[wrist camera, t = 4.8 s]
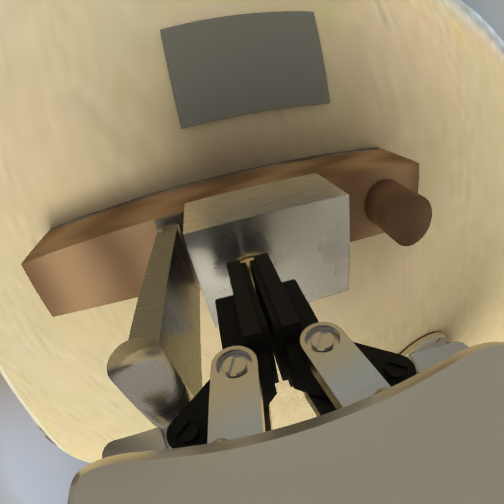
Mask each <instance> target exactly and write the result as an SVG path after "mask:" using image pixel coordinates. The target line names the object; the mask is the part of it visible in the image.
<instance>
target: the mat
mask: <svg viewBox="0 0 504 504" xmlns="http://www.w3.org/2000/svg"><path fill="white" fill-rule="evenodd" d="M160 31H161V36H162V41H163V46H164V51H165V56H166V61H167V66H168V71H169V75H170V80H171V85H172V89H173V94H174V98H175V103H176V107H177V111H178V116H179V120H180V124H181V128H186V127H190V126H194V125H198V124H202V123H206V122H210V121H215V120H219V119H224V118H229V117H234V116H239V115H244V114H249V113H255V112H261V111H267V110H274V109H280V108H288V107H295V106H304V105H313V104H324V103H330V100H329V93H328V86H327V80H326V73H325V67H324V62H323V56H322V51H321V45H320V40H319V35H318V31H317V26H316V21H315V17H314V13H313V12H304V11H291V12H265V13H252V14H242V15H233V16H226V17H219V18H213V19H207V20H201V21H196V22H191V23H187V24H182V25H178V26H174V27H170V28H166V29H162V30H160Z"/></svg>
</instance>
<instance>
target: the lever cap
mask: <svg viewBox="0 0 504 504" xmlns="http://www.w3.org/2000/svg"><path fill="white" fill-rule="evenodd" d="M183 236H184V239H185V242H186V245H187V249H188V252H189V255H190V257H191V260H192V263H193V266H194V269H195V272H196V275H197V278H198V281H199V284H200V286H201V289H202V292H203V295H204V298H205V300H206V303H207V306H208V308H209V311H210V314H211V317H212V319H213V322H214V324H215V327H219V324H218V317H217V311H216V304H215V299H219V298H223V297H227V296H231V295H233V291H232V287H231V283H230V278H229V274H228V269H227V265H226V263H228V262H232V261H236V260H240V263H243V262H246V265H247V267H248V270H249V273H250V276H251V279H252V282H253V285H254V281H253V277H252V272H251V267H250V262H249V261H250V260H254V256H255V255H259V254H263V253H268V255H269V257H270V259H271V261H272V263H273V265H274V267H275V269H276V271H277V273H278V276H279V278H280V280H281V282H285V281H288V280H292V279H295V280H296V282H297V283H298V285H299V287H300V289H301V290H302V292H303V294H304V296H305V298H306V300H307V301H308V302H311V301H314V300H318V299H321V298H324V297H327V296H330V295H333V294H337V293H340V292H343V291H346V290H349V261H350V215H349V194H347V193H346V192H344V191H343V190H341V189H340V188H338V187H337V186H335V185H334V184H332V183H331V182H329V181H327V180H326V179H324V178H323V177H321V176H320V175H318V174H316V173H315V174H310V175H304V176H299V177H294V178H289V179H285V180H280V181H275V182H270V183H266V184H261V185H257V186H253V187H248V188H244V189H240V190H235V191H231V192H227V193H223V194H219V195H215V196H211V197H207V198H203V199H199V200H196V201H192V202H188V203H185V206H184V223H183ZM254 288H255V286H254Z"/></svg>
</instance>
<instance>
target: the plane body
mask: <svg viewBox="0 0 504 504" xmlns="http://www.w3.org/2000/svg"><path fill="white" fill-rule="evenodd" d="M315 173H316V174H318V175H320V176H321V177H323V178H324V179H326V180H327V181H329V182H331V183H332V184H334V185H335V186H337V187H338V188H340V189H341V190H343V191H344V192H346V193H347V194H349V215H350V242H352V241H355V240H359V239H362V238H366V237H369V236H373V235H377V234H380V233H384V232H385V233H386V234H387V235H389V236H390V237H391V238H392V239H393V240H395V241H396V242H397V243H398V244H400V245H402V246H410V245H413V244H415V243H416V242H418V241H419V240H420V239H421V238H422V237H423V236H424V234H425V233H426V231H427V230H428V228H429V225H430V222H431V217H432V209H431V205H430V203H429V201H428V200H427V199H426V198H425V197H423V196H421V195H419V194H418V181H419V163H417V162H415V161H412V160H410V159H407V158H405V157H402V156H399V155H397V154H394V153H391V152H389V151H386V150H383V149H380V148H369V149H361V150H354V151H347V152H340V153H333V154H327V155H320V156H314V157H309V158H303V159H297V160H292V161H287V162H281V163H276V164H271V165H266V166H262V167H257V168H252V169H248V170H243V171H239V172H234V173H230V174H226V175H222V176H218V177H214V178H210V179H206V180H202V181H198V182H194V183H190V184H187V185H183V186H179V187H176V188H172V189H169V190H165V191H162V192H158V193H155V194H152V195H148V196H145V197H142V198H138V199H135V200H132V201H129V202H126V203H123V204H120V205H117V206H114V207H111V208H108V209H105V210H102V211H99V212H96V213H93V214H91V215H88V216H85V217H82V218H80V219H77V220H74V221H72V222H69V223H66V224H64V225H61V226H59V227H56V228H53V229H51V230H49V231H48V233H47V234H46V235H45V236H44V237H43V238H42V239H41V241H40V242H39V243H38V244H37V245H36V246H35V248H34V249H33V250H32V251H31V252H30V254H29V255H28V256H27V257H26V259H25V260H24V261H23V262H22V264H21V265H22V266H23V268H24V270H25V272H26V274H27V276H28V277H29V279H30V281H31V283H32V284H33V286H34V288H35V289H36V291H37V293H38V294H39V296H40V298H41V299H42V301H43V302H44V304H45V306H46V307H47V309H48V310H49V312H50V313H51V315H52V316H53V317H54V316H59V315H63V314H67V313H72V312H76V311H80V310H85V309H89V308H93V307H98V306H102V305H106V304H110V303H115V302H119V301H123V300H127V299H131V298H135V297H139V294H140V290H141V286H142V283H143V279H144V275H145V272H146V268H147V265H148V261H149V258H150V255H151V251H152V248H153V245H154V242H155V239H156V235H157V232H158V231H157V230H158V228H159V227H160V226H162V225H164V224H166V223H169V222H178V223H179V226H180V230H181V233H182V236H183V223H184V206H185V203H188V202H192V201H196V200H199V199H203V198H207V197H211V196H215V195H219V194H223V193H227V192H231V191H235V190H240V189H244V188H248V187H253V186H257V185H261V184H266V183H270V182H275V181H280V180H285V179H289V178H294V177H299V176H304V175H310V174H315ZM183 239H184V236H183ZM184 242H185V239H184ZM185 245H186V242H185ZM186 248H187V245H186ZM187 251H188V249H187ZM188 254H189V252H188ZM189 257H190V255H189ZM190 260H191V257H190ZM191 263H192V260H191ZM192 266H193V263H192ZM193 269H194V266H193ZM194 271H195V269H194ZM195 274H196V272H195ZM196 277H197V275H196ZM197 280H198V278H197ZM198 283H199V281H198ZM199 285H200V284H199Z"/></svg>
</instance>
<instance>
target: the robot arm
mask: <svg viewBox="0 0 504 504" xmlns="http://www.w3.org/2000/svg"><path fill="white" fill-rule="evenodd" d="M249 262H250V267H251V272H252V277H253V281H254V285H253V282H252V279H251V276H250V273H249V270H248V267H247V265H246V262H243V263H240V260H236V261H232V262H228V263H226V265H227V269H228V274H229V278H230V283H231V287H232V291H233V295H231V296H227V297H223V298H219V299H215V304H216V311H217V317H218V324H219V330H220V336H221V342H222V349H223V350H221V351H220V352H219V353H217V354H216V355H215V357H214V358H213V360H212V364H211V374H210V380H209V381H208V382H207V383H206V384H205V385H204V387H203V388H202V389H201V390H200V391H199V392H198V393H197V394H196V396H195V397H194V398H193V399H192V400H191V401H190V402H189V403H188V404H187V405H186V407H185V408H184V409H183V410H182V411H181V412H180V413H179V414H178V415H177V416H176V417H175V419H174V420H173V421H172V422H171V423H170V425H169V426H168V427H166V428H163V429H161V428H160V427H158V428H155V429H152V430H149V431H146V432H142V433H139V434H136V435H132V436H129V437H125V438H122V439H118V440H114V441H112V442H110V443H108V444H107V445H106V446H105V448H104V450H103V453H102V459H100V460H97V461H95V462H93V463H91V464H89V465H87V466H85V467H84V468H82V469H81V470H80V471H79V472H78V473H77V474H76V475H75V477H74V478H73V480H72V483H71V486H70V490H69V497H68V504H504V342H488V343H482V344H478V345H474V346H471V347H468V346H467V345H465V344H464V343H461V342H452V343H449V344H447V338H446V337H445V335H444V334H443V333H441V332H436V333H432V334H429V335H427V336H425V337H423V338H421V339H419V340H418V341H416V342H415V343H413V344H412V345H411V346H409V347H408V348H407V349H406V350H405V351H403V352H402V353H401V354H397V353H393V352H389V351H385V350H381V349H377V348H373V347H369V346H366V345H362V344H358V343H355V342H353V341H352V340H351V339H350V338H349V337H348V336H347V334H346V333H345V332H344V331H343V330H342V329H341V328H340V327H339V326H338V325H335V324H333V323H329V322H318V320H317V318H316V316H315V314H314V312H313V310H312V309H311V307H310V305H309V303H308V301H307V300H306V298H305V296H304V294H303V292H302V290H301V289H300V287H299V285H298V283H297V282H296V280H295V279H292V280H288V281H285V282H281V280H280V278H279V276H278V273H277V271H276V269H275V267H274V265H273V263H272V261H271V259H270V257H269V255H268V253H263V254H259V255H255V256H254V260H250V261H249ZM254 286H255V288H254ZM273 353H274V354H273ZM274 356H275V359H276V362H277V365H278V368H279V371H280V374H281V377H282V380H283V381H285V380H288V381H289V383H290V386H291V387H292V386H293V387H294V388H295V389H297V390H300V391H303V392H304V395H305V397H306V399H307V401H308V402H309V404H310V406H311V407H312V409H313V410H314V412H315V414H316V415H317V417H315V418H312V419H309V420H306V421H303V422H299V423H296V424H293V425H289V426H286V427H282V428H279V429H275V430H273V429H272V419H271V409H270V402H271V401H272V399H273V398H274V396H275V395H276V394H277V392H276V387H275V383H278V382H279V380H278V374H277V369H276V364H275V359H274Z"/></svg>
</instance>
